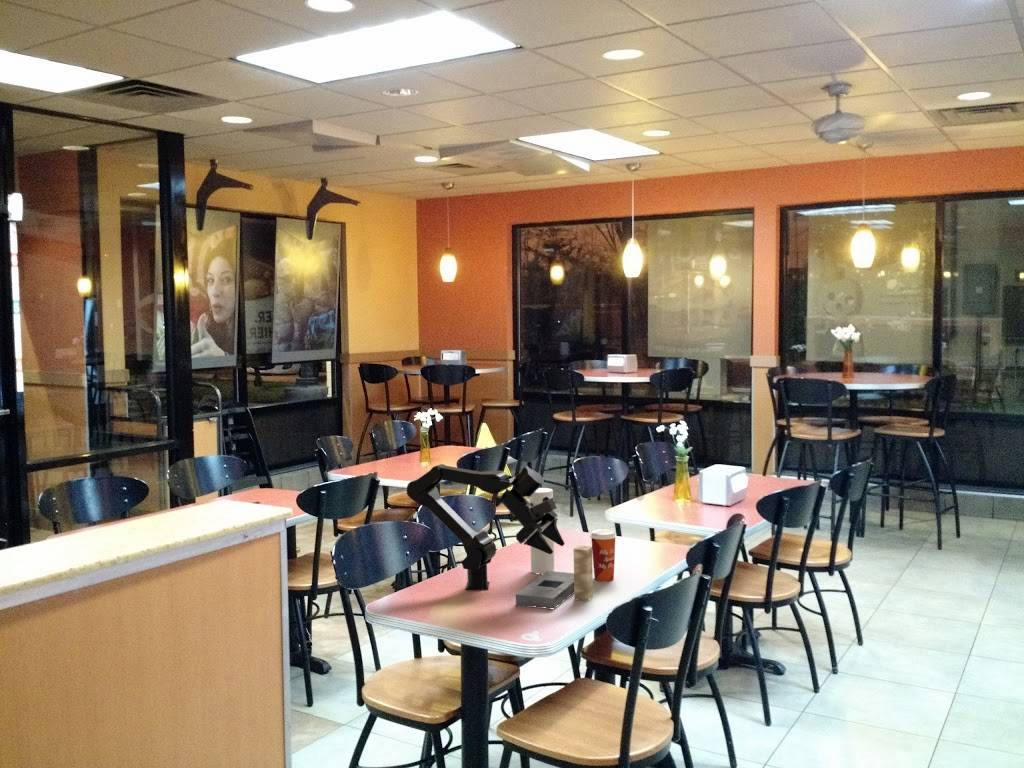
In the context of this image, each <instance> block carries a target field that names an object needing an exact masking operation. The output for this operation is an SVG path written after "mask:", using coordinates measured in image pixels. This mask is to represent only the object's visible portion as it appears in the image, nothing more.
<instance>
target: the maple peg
mask: <svg viewBox="0 0 1024 768" xmlns="http://www.w3.org/2000/svg"><path fill="white" fill-rule="evenodd" d="M572 551H573V573H574V593H573V594H574V596H573V597H574V600H576V599H583V600H582V601H586V600H589V599H590V598H591V597H592V598H593V597H594V585H593V584H594V579H593V578H594V577H593V574H594V569H593V553H592V546H590V545H589V546H586V545H577V546H576V547H574V548H573V550H572ZM592 598H591V599H592ZM591 599H590V600H591ZM590 600H589V601H590Z"/></svg>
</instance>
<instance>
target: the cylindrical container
mask: <svg viewBox="0 0 1024 768" xmlns="http://www.w3.org/2000/svg"><path fill="white" fill-rule="evenodd" d="M553 493H554V491H553V489H552V488H548V487H539V488H538V489H537V490H536V491H535V492H534V493H533V494H532V496H530V497H528V498H529V501H528V502H529V503H531V502H534V503H535V504H536V505H537V504H540V503H542V502H543V498H544V497H547V496H550V497H551V498H553V499H554V496H553V495H554V494H553ZM542 536H543V538H544V539H545V541H546V542H547V543H548V545H549V546H550V547H551V549H552V551H553V553H552V554H548V553H546V552H543V551H541V550H539V549H536V548H534V547H531V546H530V572H531V571H532V572H533V573H532V572H531V573H532V574H534V573H539V574H538V575H540V574H544V573H545V572H547V571H554V570H555V566H556V565H555V542H554V541H552V540H551V539H549V538H547V537H546V536H544V535H542Z"/></svg>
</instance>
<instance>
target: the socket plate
mask: <svg viewBox="0 0 1024 768" xmlns="http://www.w3.org/2000/svg"><path fill="white" fill-rule="evenodd" d="M573 592H574V572H564V571H547V572H545V573H544V574H543V575H540V576H538V577H537V578H536V579H534V580H533V581H532V582H530V583H529V584H527V585H526V586H525V587H524V588H522V589H521V590H520V591H517V593H515V606H517V605H522V606H521V607H526V606H536V607H546V608H555V607H556V606H557V605H559V604H560V603H561V602H562V601H563V600H564V599H566V598H567V597H568V596H569V595H570V594H571V595H573V594H574V593H573ZM572 593H573V594H572ZM571 595H570V596H571ZM570 596H569V597H570ZM569 597H568V598H569ZM568 598H567V599H568ZM567 599H566V600H567ZM563 602H564V601H563ZM563 602H562V603H563ZM562 603H561V604H562ZM561 604H560V605H561ZM523 605H524V606H523ZM560 605H559V606H560ZM556 608H557V607H556ZM556 608H555V609H556Z"/></svg>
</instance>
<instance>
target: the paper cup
mask: <svg viewBox="0 0 1024 768" xmlns="http://www.w3.org/2000/svg"><path fill="white" fill-rule="evenodd" d="M589 537H590V538H591V547H592V567H593V574H594V577H593V578H594V580H595V579H596V580H595V581H597V580H599V581H598V582H610V581H609V580H611V581H614V579H615V561H616V560H615V557H616V556H615V555H616V538H617V534H616V532H615V530H612V529H605V528H603V529H602V528H601V529H599V528H598V529H594V530H592V531H591V534H590V536H589Z"/></svg>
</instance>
